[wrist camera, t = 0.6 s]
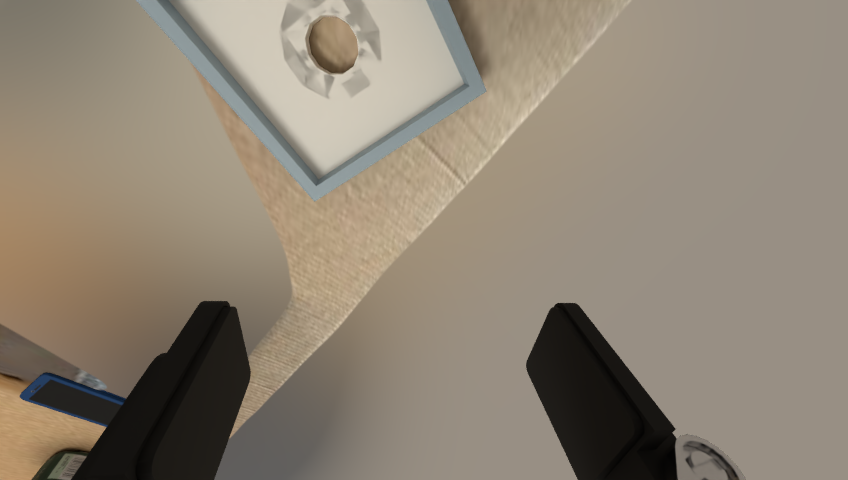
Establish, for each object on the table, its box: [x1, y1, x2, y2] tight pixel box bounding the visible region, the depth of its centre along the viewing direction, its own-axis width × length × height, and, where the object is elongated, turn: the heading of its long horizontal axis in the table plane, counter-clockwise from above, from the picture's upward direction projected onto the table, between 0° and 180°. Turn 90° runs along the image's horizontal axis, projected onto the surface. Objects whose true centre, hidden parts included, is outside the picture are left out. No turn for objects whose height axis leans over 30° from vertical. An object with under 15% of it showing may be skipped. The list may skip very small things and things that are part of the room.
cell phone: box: [20, 373, 126, 427], centre depth 49 cm, size 7×14×1 cm, turn 37°
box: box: [136, 0, 486, 202], centre depth 28 cm, size 20×20×4 cm
